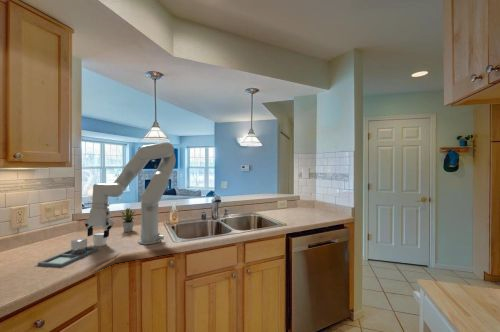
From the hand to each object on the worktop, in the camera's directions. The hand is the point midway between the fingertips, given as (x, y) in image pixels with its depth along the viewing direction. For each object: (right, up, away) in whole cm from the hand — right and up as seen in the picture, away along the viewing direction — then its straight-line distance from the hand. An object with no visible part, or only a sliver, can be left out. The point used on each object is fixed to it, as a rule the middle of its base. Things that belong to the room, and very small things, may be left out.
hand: (98, 236), depth 140 cm
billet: (-1, -5, -14) cm, 15 cm away
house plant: (-1, -6, +35) cm, 35 cm away
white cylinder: (+1, -6, 0) cm, 6 cm away
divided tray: (-2, -6, -19) cm, 20 cm away
